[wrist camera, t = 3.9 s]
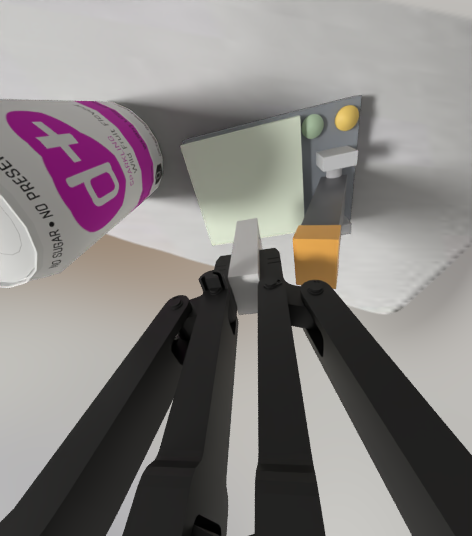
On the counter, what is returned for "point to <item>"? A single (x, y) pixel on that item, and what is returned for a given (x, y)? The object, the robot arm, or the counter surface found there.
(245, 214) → the panel
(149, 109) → the counter surface
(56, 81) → the counter surface
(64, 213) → the supplement can
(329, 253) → the breaker lever
